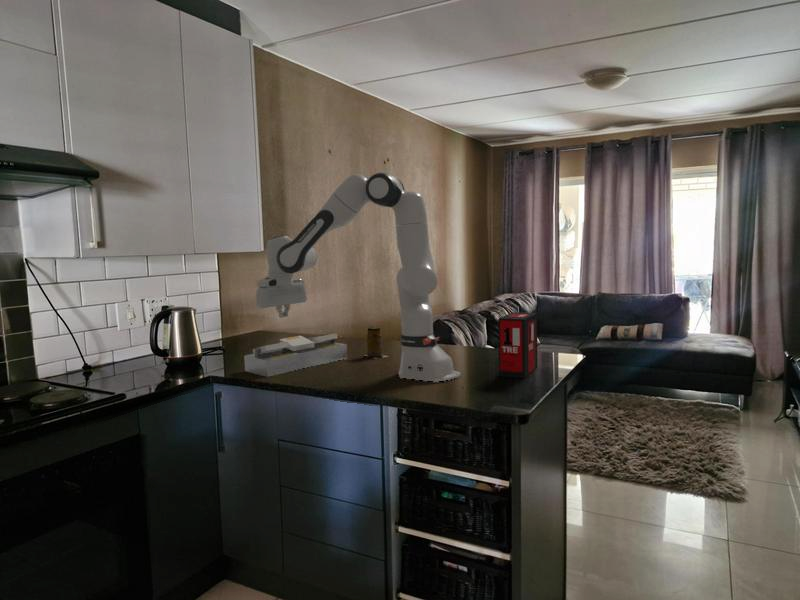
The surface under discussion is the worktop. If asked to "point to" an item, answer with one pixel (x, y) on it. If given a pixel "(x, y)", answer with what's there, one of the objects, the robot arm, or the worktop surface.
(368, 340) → the condiment
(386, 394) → the worktop surface
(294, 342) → the rocker
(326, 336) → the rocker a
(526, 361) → the cleaning product box
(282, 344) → the rocker
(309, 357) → the switch unit
